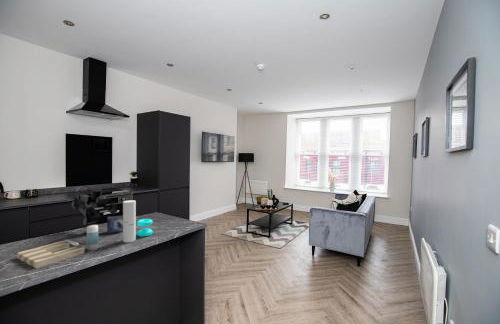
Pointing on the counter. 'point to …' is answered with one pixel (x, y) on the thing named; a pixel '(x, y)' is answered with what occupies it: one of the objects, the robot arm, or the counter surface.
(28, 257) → the light wood flat tray
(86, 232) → the robot arm
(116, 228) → the small box
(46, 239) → the counter surface
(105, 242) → the counter surface
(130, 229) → the cylindrical container
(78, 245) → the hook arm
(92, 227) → the white teal rounded cylinder
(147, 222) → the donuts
